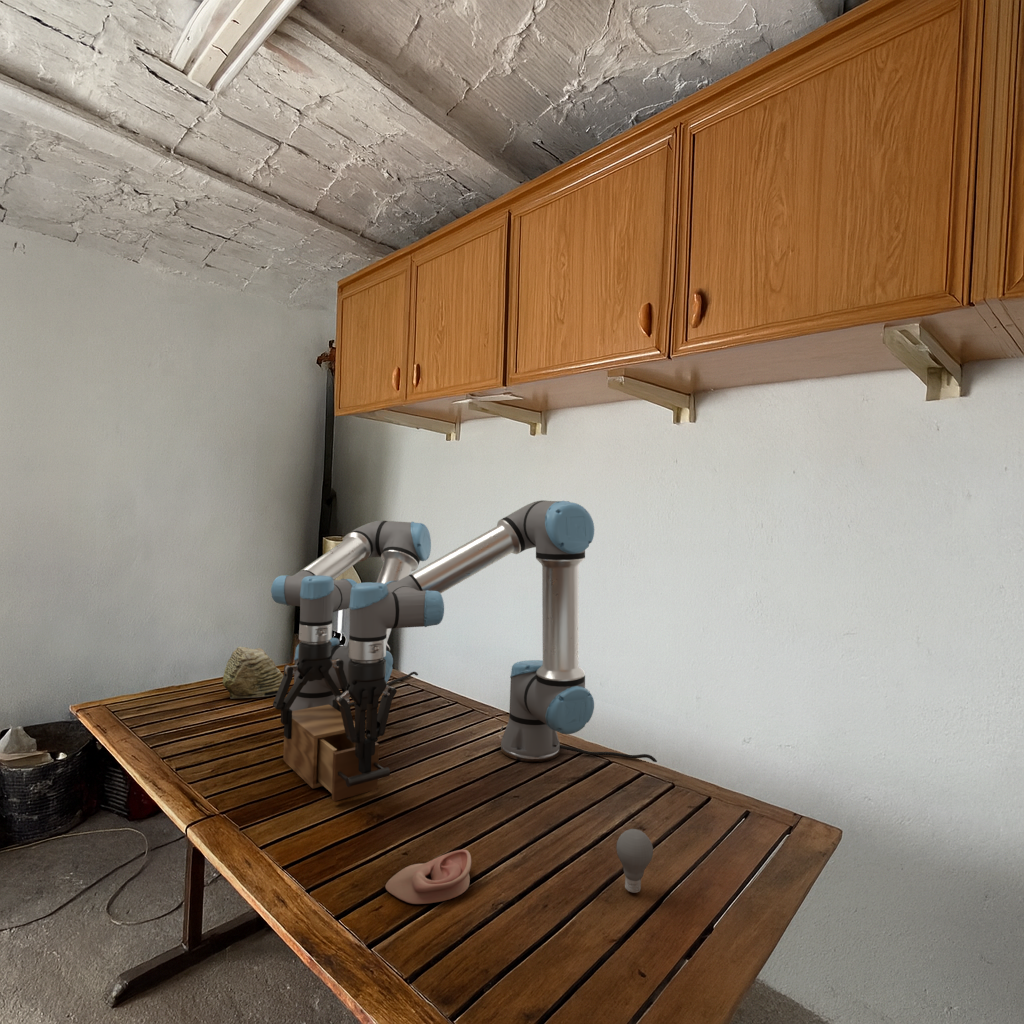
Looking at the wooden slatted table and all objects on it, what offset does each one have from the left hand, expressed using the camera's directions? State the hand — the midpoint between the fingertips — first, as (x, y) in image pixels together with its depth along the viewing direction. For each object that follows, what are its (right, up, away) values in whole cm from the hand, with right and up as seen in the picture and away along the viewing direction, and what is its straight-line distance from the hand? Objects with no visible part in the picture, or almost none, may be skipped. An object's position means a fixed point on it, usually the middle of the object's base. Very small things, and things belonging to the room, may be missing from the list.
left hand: (312, 732), depth 152 cm
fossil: (-33, -4, +46) cm, 57 cm away
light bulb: (+68, -11, -46) cm, 83 cm away
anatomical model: (+34, -9, -47) cm, 59 cm away
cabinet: (+3, -7, -4) cm, 9 cm away
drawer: (+12, -6, -15) cm, 20 cm away
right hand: (+17, -1, -21) cm, 27 cm away
